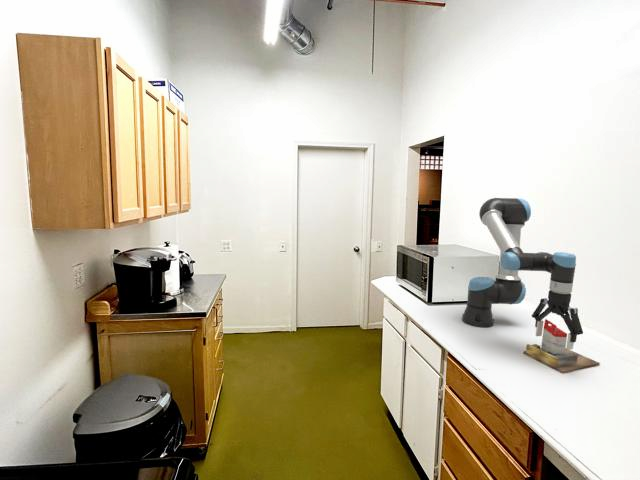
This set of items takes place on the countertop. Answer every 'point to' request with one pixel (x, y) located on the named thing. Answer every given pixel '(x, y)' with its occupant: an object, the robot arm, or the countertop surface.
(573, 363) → the board
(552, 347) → the ink box
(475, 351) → the countertop surface
